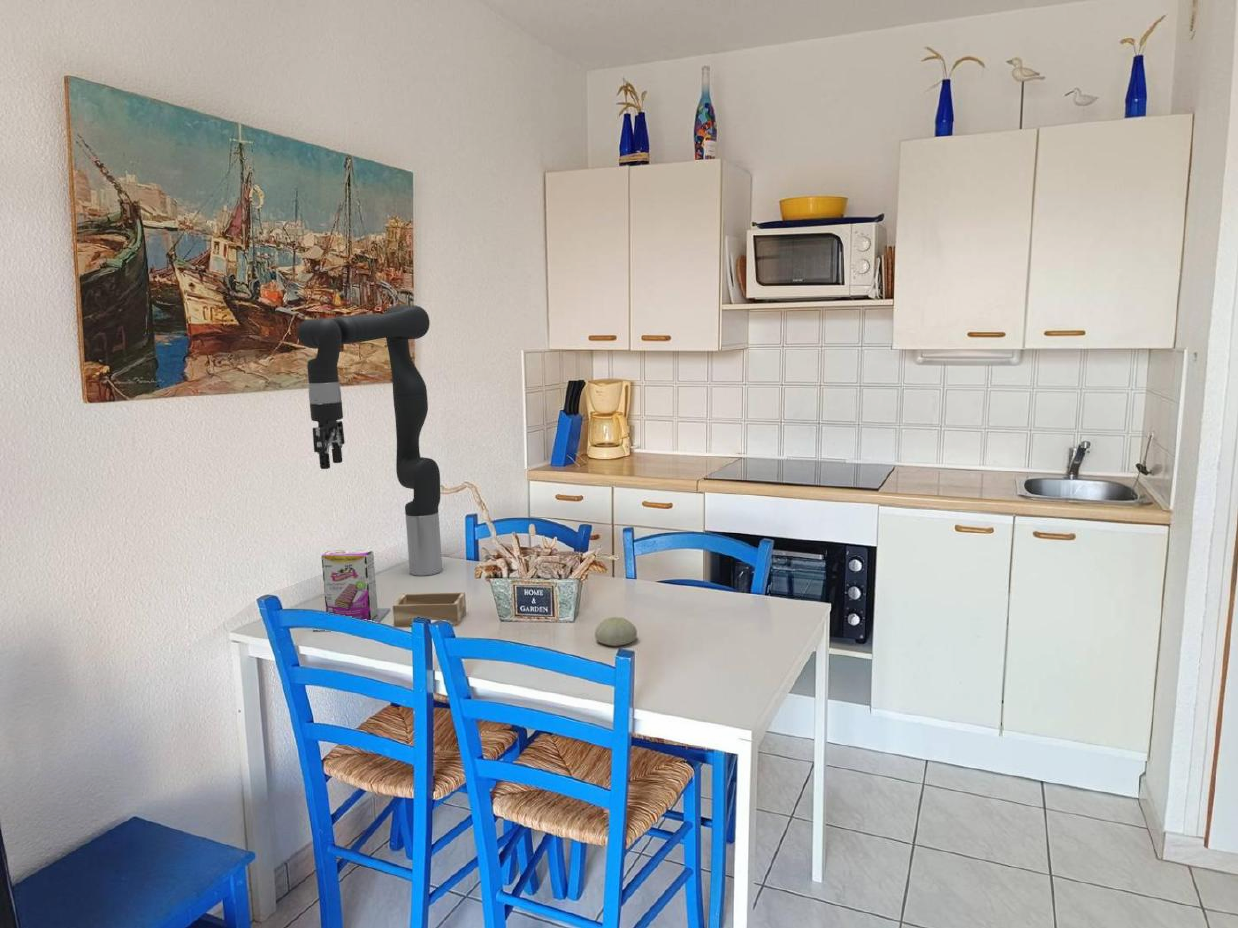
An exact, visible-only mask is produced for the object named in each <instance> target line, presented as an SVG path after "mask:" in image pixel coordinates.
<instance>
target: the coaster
mask: <svg viewBox="0 0 1238 928" xmlns="http://www.w3.org/2000/svg"><path fill="white" fill-rule="evenodd" d="M377 608H378V607H377ZM390 612H391V607H387V608H384V607H383V608H381V607H380V608H378V615H377V616H376V617H374V618H373V620H372V621H375V622H378V624H379V623H381V621H382V620H383V619H384V618H385V617H386V616H387V615H388V614H389V613H390ZM312 632H319V631H318V630H313V629H312Z"/></svg>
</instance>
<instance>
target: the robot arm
mask: <svg viewBox="0 0 1238 928" xmlns="http://www.w3.org/2000/svg"><path fill="white" fill-rule="evenodd" d="M429 329H430V317H429V314H428V313H427V311H426V310H425V309H424V308H423V307H421V306H420V305H414V304H409V305H408V304H407V305H395V306H394V305H393V306H390V307H388V309H386V311H385V313H369V314H368V313H365V314H364V313H362V314H351V315H341V316H338V317H332V318H329V317H327V318H325V317H324V318H309V319H306V320H303V321H302V322H301V323H300V324H299V325H298V327H297V330H296V336H297V339H298V341H299V342H300V344H302V345H303V346H304V347H307V348H309V349H317V351H316V356H315V357H314V358H311V359H309V360H308V362H307V365H306V366H307V368H306V369H307V379H308V380H307V381H308V398H309V400H308V401H309V411H310V419H311V421H312V422H317V423H318V424H317V425H318V426H317V427H313V428H312V438H313V439H312V440H313V452H314V453H317V454H318V457H319V459H318V460H319V467H320V469H321V470H329V469H330V468H331V461H330V453H329V452H330V447H331V455H332V456H331V457H332V463H333V464H340V463H343V452H342V448H343V445H345V444H346V443H345V433H344V425H343V424H344V422H343V421H342V419H343V418H344V412H343V411H344V410H343V402H342V401H343V400H342V391H341V386H340V382H339V370H338V369H339V368H338V363H339V358H340V351H341V347H342V345H350V344H358V343H364V342H370V341H374V340H380V339H385V341H386V344H387V345H386V346H387V351H388V356H389V362H390V363H389V364H390V371H391V380H392V382H391V383H392V397H393V398H392V399H393V407H394V408H393V409H394V416H395V417H394V418H395V432H396V459H395V466H396V467H395V470H396V471H395V472H396V476H397V477H396V478H397V480H398V482H399V484H400V485H401V486H402V487H404V488H406V489H411V490H413V498H412V500H411V501H409V502H407V503H406V504H405V506H404V513H405V524H406V537H407V538H406V540H407V541H406V542H407V554H408V566H409V574H410V575H412V576H423V577H424V576H432V575H435V574H439V573H441V572H442V571H443V559H442V557H443V555H442V544H441V543H442V542H441V530H440V516H439V515H440V514H439V505H440V502H441V474H440V473H441V471H440V468H439V465H438V463H437V462H436V460H434V459H432V458H430V457H425V456H424V457H421V453H420V452H421V451H420V435H421V432H422V430H423V427H424V424H425V420H426V419H427V415H428V411H429V408H428V407H429V406H428V405H429V404H428V390H427V385H426V383H425V380H424V377H422V374H421V373H420V371H419V370H418V368H417V367H416V365H415V363H414V361H413V359H412V356H411V352H410V343H409V340H416V339H420V338H423V337H424V336H426V335H427V333H428V331H429Z"/></svg>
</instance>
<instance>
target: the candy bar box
mask: <svg viewBox="0 0 1238 928" xmlns="http://www.w3.org/2000/svg"><path fill="white" fill-rule="evenodd" d="M374 558H375V557H374V550H372V549H371V550H370V549H364V550H362V549H359V550H356V549H354V550H352V549H351V550H346V549H344V550H343V549H338V550H336V549H335V550H332V549H329V550H327V552H324V553H323V554H321V565H322V566H321V567H322V578H323V587H324V588H323V589H324V600H325V613H326V612H329V613H334V614H340V615H345V616H352V617H356V618H360V619H367V620H373V618H374V617H376V616H377V615H378V598H377V584H376V573H375V559H374Z"/></svg>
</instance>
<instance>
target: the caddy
mask: <svg viewBox="0 0 1238 928" xmlns="http://www.w3.org/2000/svg"><path fill="white" fill-rule="evenodd" d="M466 603H467V602H466V592H433V593H432V592H431V593H428V592H427V593H425V592H424V593H403V594H402V595H401V597H399V599H398V600H397V601H396V602H395V603H394V604H393V605H392V616H393V617H392V618H393V626H394V627H412V626H411V624H412V620H413V619H414V618H417V617H420V618H427V619H430V620H446V621H450V622H451V623H452V625H451V626H459V624H460V622H461V621H462V619H463V618H464V616H466V615H465V614H466V613H467V604H466Z"/></svg>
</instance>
